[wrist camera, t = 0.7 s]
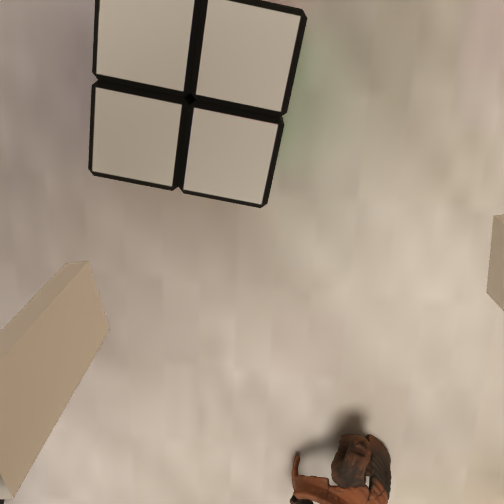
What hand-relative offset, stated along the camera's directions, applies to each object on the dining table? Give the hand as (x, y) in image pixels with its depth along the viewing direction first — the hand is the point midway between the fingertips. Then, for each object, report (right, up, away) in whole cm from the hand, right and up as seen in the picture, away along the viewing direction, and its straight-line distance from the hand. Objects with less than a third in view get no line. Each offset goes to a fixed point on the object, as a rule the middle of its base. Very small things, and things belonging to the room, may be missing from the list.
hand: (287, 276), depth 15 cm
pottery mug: (+8, -20, +31) cm, 37 cm away
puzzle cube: (-4, +13, +17) cm, 21 cm away
